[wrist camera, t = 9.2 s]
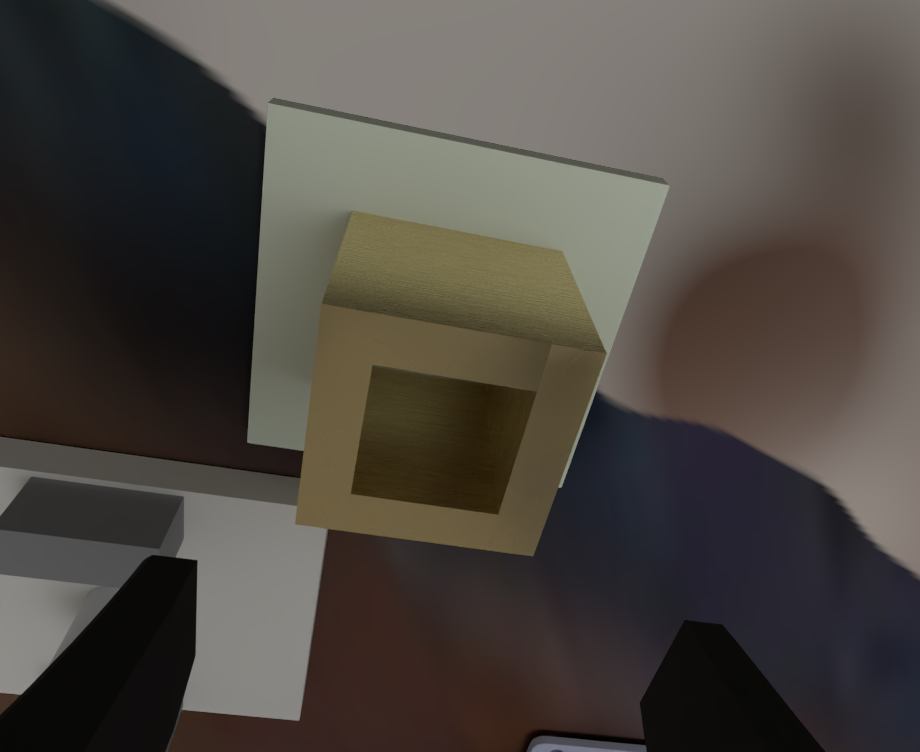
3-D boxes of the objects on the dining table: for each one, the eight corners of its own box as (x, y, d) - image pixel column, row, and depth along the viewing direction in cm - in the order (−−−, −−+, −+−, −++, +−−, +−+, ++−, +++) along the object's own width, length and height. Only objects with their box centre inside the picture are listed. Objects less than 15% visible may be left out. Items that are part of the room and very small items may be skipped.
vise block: (334, 483, 21) (303, 644, 16) (304, 690, 26) (273, 861, 21) (-101, 422, 19) (-285, 581, 14) (-44, 655, 24) (-165, 832, 19)
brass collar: (562, 251, 17) (606, 353, 12) (511, 421, 19) (533, 556, 15) (352, 210, 16) (321, 303, 12) (327, 392, 18) (294, 524, 14)
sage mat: (662, 178, 16) (670, 185, 16) (558, 474, 21) (561, 488, 20) (273, 97, 15) (267, 102, 15) (252, 430, 20) (247, 442, 19)
